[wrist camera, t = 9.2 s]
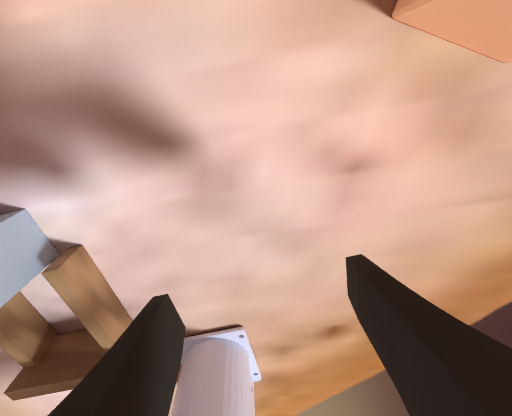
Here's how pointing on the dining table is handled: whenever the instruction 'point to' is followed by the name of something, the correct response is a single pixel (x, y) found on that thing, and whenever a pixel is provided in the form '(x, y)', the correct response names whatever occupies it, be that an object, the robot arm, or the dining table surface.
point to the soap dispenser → (463, 23)
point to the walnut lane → (64, 345)
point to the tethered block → (21, 252)
